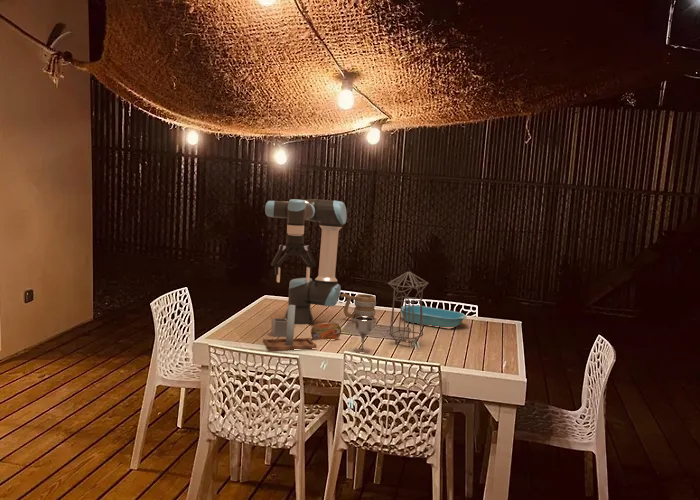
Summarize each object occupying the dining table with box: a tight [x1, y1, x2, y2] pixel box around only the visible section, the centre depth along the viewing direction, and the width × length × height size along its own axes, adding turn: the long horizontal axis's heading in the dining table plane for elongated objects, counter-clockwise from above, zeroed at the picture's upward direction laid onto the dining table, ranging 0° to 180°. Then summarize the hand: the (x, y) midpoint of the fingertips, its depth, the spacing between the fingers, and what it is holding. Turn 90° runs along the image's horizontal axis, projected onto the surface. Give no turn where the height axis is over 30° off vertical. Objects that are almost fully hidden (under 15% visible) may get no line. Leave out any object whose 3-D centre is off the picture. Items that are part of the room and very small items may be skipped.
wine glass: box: [354, 316, 374, 354], centre depth 298 cm, size 8×8×15 cm
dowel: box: [285, 304, 295, 346], centre depth 297 cm, size 3×3×18 cm
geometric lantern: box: [387, 271, 430, 348], centre depth 314 cm, size 16×16×35 cm
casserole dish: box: [401, 304, 467, 328], centre depth 362 cm, size 37×22×7 cm, turn 64°
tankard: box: [340, 292, 377, 325], centre depth 356 cm, size 20×13×15 cm, turn 88°
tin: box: [310, 322, 342, 341], centre depth 313 cm, size 15×3×8 cm, turn 117°
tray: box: [262, 337, 318, 352], centre depth 298 cm, size 22×13×2 cm, turn 110°
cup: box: [270, 317, 287, 338], centre depth 314 cm, size 7×7×8 cm
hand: (292, 281), depth 295 cm, fingers open, 13 cm apart
